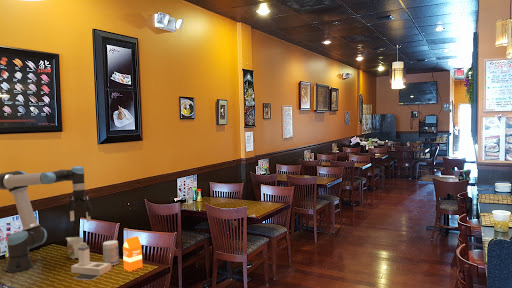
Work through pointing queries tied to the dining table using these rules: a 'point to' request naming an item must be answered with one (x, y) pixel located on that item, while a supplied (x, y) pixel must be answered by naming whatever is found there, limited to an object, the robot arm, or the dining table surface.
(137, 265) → the orange juice
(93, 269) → the white flat tray
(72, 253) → the pitcher
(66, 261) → the dining table surface
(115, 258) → the supplement tub
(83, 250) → the white cylinder
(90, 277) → the phone
